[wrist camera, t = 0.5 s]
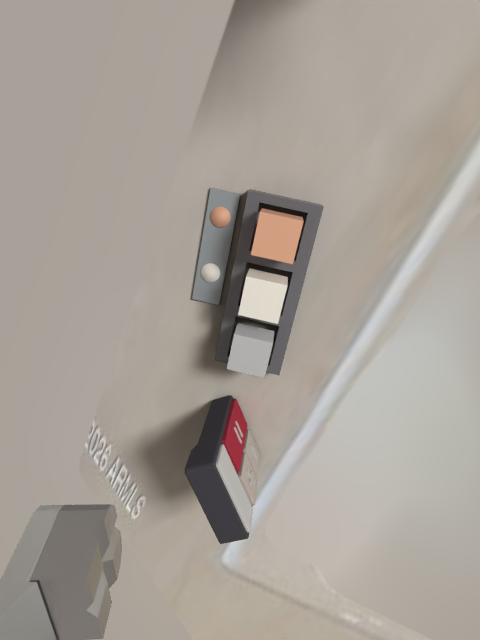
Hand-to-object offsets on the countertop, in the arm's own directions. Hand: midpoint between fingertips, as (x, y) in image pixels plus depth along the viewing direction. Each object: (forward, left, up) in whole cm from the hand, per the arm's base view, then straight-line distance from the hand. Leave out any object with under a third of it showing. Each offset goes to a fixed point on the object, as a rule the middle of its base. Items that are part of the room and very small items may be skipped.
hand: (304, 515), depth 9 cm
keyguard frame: (+7, -2, -44) cm, 45 cm away
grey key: (+14, -2, -41) cm, 44 cm away
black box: (+29, -1, -45) cm, 53 cm away
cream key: (+7, -2, -41) cm, 42 cm away
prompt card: (+4, -9, -44) cm, 45 cm away
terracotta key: (0, -2, -41) cm, 41 cm away
